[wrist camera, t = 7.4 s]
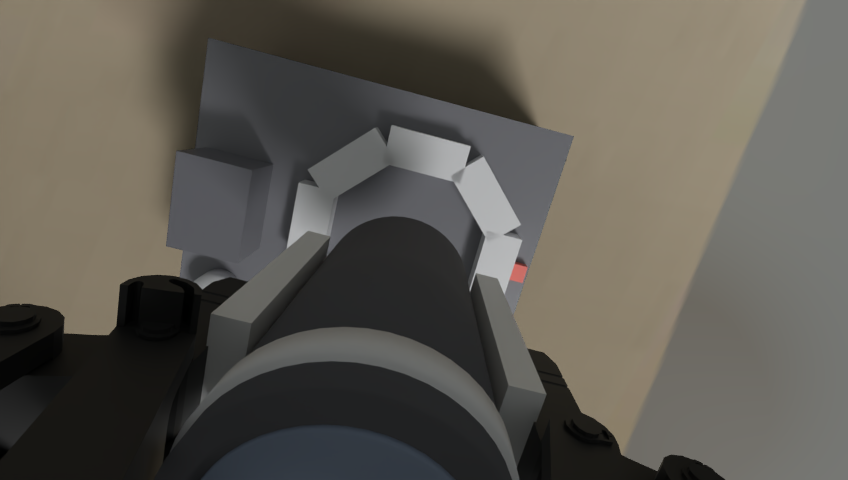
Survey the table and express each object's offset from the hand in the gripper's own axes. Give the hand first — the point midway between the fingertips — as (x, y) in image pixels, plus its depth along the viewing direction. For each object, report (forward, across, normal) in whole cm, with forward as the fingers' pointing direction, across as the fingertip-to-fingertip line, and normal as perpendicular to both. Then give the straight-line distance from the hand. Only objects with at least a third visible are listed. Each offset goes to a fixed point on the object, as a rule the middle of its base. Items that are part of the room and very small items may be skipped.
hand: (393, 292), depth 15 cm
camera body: (+12, -2, 0) cm, 12 cm away
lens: (+1, 0, 0) cm, 1 cm away
